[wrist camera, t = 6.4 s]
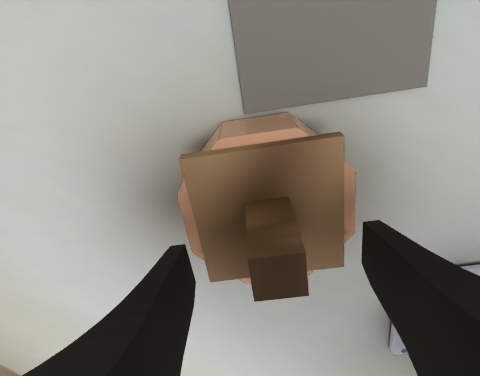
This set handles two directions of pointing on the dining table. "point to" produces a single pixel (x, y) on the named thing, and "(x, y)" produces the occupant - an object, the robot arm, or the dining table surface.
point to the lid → (269, 211)
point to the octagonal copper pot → (255, 133)
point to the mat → (329, 49)
